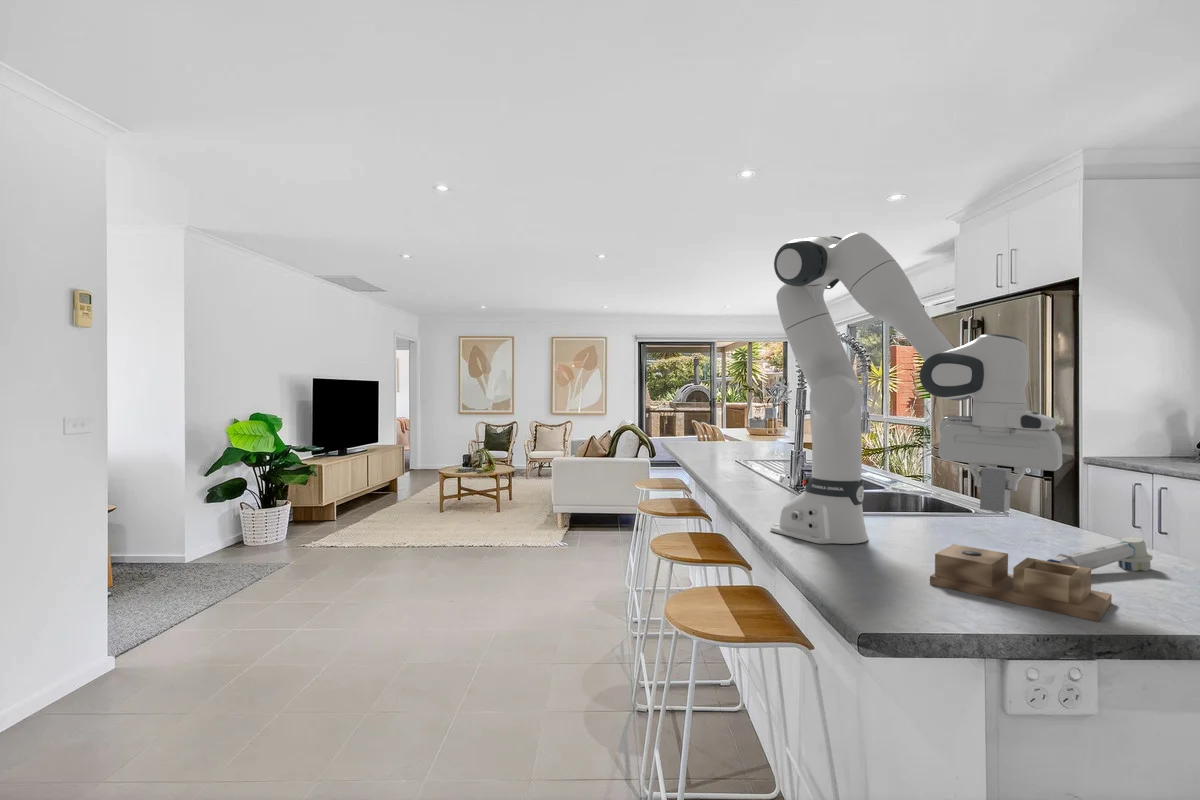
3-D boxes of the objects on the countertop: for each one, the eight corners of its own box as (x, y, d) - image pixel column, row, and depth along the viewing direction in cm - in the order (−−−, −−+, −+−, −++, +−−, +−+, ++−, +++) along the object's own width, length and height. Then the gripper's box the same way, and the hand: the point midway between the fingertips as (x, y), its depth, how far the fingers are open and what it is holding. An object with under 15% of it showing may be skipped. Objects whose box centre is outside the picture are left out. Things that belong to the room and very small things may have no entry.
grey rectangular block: (979, 508, 118) (981, 468, 118) (986, 506, 121) (987, 466, 121) (1003, 512, 115) (1005, 470, 115) (1009, 509, 118) (1011, 469, 118)
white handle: (1038, 555, 116) (1127, 528, 124) (1041, 588, 117) (1130, 560, 124) (1067, 562, 111) (1157, 534, 119) (1069, 597, 112) (1160, 567, 119)
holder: (929, 584, 110) (930, 553, 110) (952, 570, 118) (952, 542, 118) (1098, 621, 93) (1099, 585, 93) (1111, 602, 101) (1112, 569, 101)
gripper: (934, 414, 123) (932, 482, 124) (1059, 421, 108) (1055, 498, 109) (945, 414, 127) (942, 479, 128) (1066, 420, 112) (1062, 494, 113)
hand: (995, 488), depth 118 cm, fingers closed on grey rectangular block, 4 cm apart
